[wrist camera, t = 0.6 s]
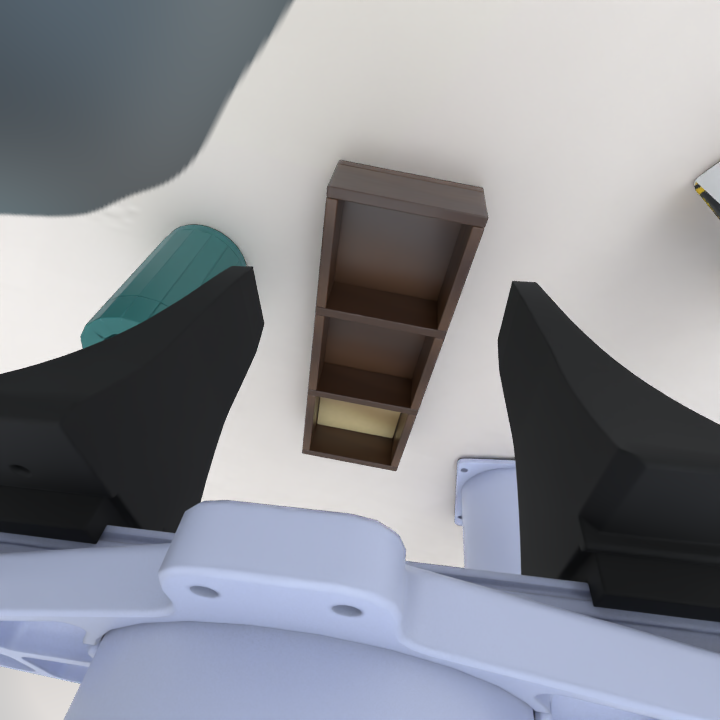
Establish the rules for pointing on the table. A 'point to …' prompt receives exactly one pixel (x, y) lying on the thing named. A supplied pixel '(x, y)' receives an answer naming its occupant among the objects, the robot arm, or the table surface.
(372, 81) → the table surface
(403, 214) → the rack
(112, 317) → the jar
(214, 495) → the table surface
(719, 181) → the medicine bottle
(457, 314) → the table surface
